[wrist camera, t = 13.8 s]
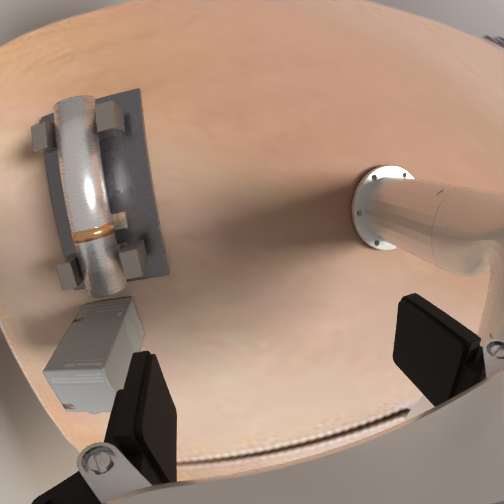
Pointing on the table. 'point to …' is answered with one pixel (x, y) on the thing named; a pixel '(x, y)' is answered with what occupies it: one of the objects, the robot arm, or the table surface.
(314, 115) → the table surface
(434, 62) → the table surface
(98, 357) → the skincare box
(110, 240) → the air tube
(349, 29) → the table surface
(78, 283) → the plate with corner blocks
